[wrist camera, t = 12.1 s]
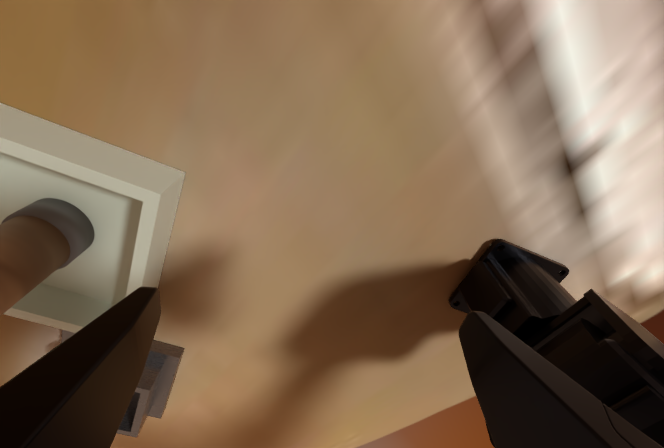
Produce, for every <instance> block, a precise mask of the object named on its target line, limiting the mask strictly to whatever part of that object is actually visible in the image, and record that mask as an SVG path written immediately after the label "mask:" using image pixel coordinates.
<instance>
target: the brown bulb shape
mask: <svg viewBox="0 0 664 448" xmlns="http://www.w3.org/2000/svg"><path fill="white" fill-rule="evenodd" d="M94 236H95V234H94V228H93V225H92V223H91V221H90V220H89V218H88V217H87V216H86V215H85V214H84V213H83V212H82V211H81V210H80V209H79V208H77V207H76V206H74V205H72V204H71V203H68V202H66V201H63V200H60V199H55V198H43V199H39V200H37V201H35V202H33V203H31V204H29V205H28V206H26V207H24V208H22V209H20V210H18V211H16V212H14V213H13V214H11V215H9V216H7V217H6V218H5V219H4V220H3V221H2V223H1V224H0V316H1V315H2V314H3V313H5V312H6V311H7V310H8V309H10V308H11V307H12V306H13V305H14V304H16V303H17V302H18V301H19V300H20V299H22V298H23V297H24V296H25V295H27V294H28V293H29V292H30V291H31V290H33V289H34V288H35V287H36V286H37V285H39V284H40V283H41V282H42V281H43V280H45V279H46V278H47V277H48V276H50V275H51V274H52V273H53V272H54V271H56V270H57V269H61V268H64V267H66V266H67V265H68V264H70V263H71V262H72V261H73V260H74V259H75V258H77V257H78V256H79V255H80V254H81V253H83V252H84V251H85V250H86V249H87V248H89V247H90V246H91V244H92V243H93V241H94Z"/></svg>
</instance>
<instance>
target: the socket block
mask: <svg viewBox="0 0 664 448" xmlns="http://www.w3.org/2000/svg"><path fill="white" fill-rule="evenodd" d="M73 334H75V333H73V332H69V331H66V330H62V341H61V343H62V342H64V341H65V340H67V339H68V338H69V337H71V336H72V335H73ZM183 352H184V348H181V347H177V346H173V345H169V344H166V343H162V342H158V341H155V340H153V341H152V345H151V348H150V351H149V354H148V357H147V361H146V364H145V367H144V370H143V373H142V376H141V378H140V381H139V383H138V385H137V388H136V390H135V392H134V394H133V397H132V399H131V401H130V403H129V406H128V408H127V410H126V412H125V415H124V417H123V419H122V422H121V424H120V426H119V428H118V431H117V433H118V434H123V435H127V436H132V437H137V436H138V434H139V432H140V430H141V428H142V426H143V424H144V422H145V420H146V418H147V416H152V417H156V418H161V417H162V415H163V412H164V410H165V408H166V404H167V401H168V398H169V395H170V392H171V389H172V386H173V383H174V380H175V376H176V373H177V370H178V367H179V364H180V361H181V358H182V355H183Z"/></svg>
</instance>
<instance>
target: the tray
mask: <svg viewBox="0 0 664 448" xmlns="http://www.w3.org/2000/svg"><path fill="white" fill-rule="evenodd" d="M184 177H185V172H183V171H180V170H178V169H175V168H172V167H170V166H167V165H164V164H162V163H159V162H156V161H154V160H151V159H148V158H146V157H143V156H140V155H138V154H135V153H132V152H130V151H127V150H124V149H122V148H119V147H116V146H114V145H111V144H108V143H106V142H103V141H100V140H98V139H95V138H92V137H90V136H87V135H84V134H82V133H79V132H76V131H74V130H71V129H68V128H66V127H63V126H60V125H58V124H55V123H52V122H50V121H47V120H45V119H42V118H39V117H37V116H34V115H31V114H29V113H26V112H23V111H21V110H18V109H15V108H13V107H10V106H7V105H5V104H2V103H0V224H1V223H2V221H3V220H4V219H5V218H6V217H7V216H9V215H11V214H13V213H14V212H16V211H18V210H20V209H22V208H24V207H26V206H28V205H29V204H31V203H33V202H35V201H37V200H39V199H43V198H55V199H60V200H63V201H66V202H68V203H71V204H72V205H74V206H76V207H77V208H79V209H80V210H81V211H82V212H83V213H84V214H85V215H86V216H87V217H88V218H89V220H90V221H91V223H92V225H93V228H94V234H95V236H94V241H93V243H92V244H91V246H90V247H89V248H87V249H86V250H85V251H84V252H83V253H81V254H80V255H79V256H78V257H77V258H75V259H74V260H73V261H72V262H71V263H70V264H68V265H67V266H66V267H64V268H61V269H57V270H56V271H54V272H53V273H52V274H51V275H50V276H48V277H47V278H46V279H45V280H43V281H42V282H41V283H40V284H39V285H37V286H36V287H35V288H34V289H33V290H31V291H30V292H29V293H28V294H27V295H25V296H24V297H23V298H22V299H20V300H19V301H18V302H17V303H16V304H14V305H13V306H12V307H11V308H10V309H8V310H7V311H6V312H5V313H3V314H4V315H8V316H12V317H16V318H20V319H23V320H27V321H31V322H35V323H39V324H43V325H46V326H50V327H54V328H58V329H62V330H66V331H69V332H73V333H76V332H78V331H79V330H80V329H82V328H83V327H85V326H86V325H87V324H89V323H90V322H92V321H93V320H94V319H96V318H97V317H99V316H100V315H101V314H103V313H104V312H105V311H107V310H108V309H110V308H111V307H112V306H114V305H115V304H117V303H118V302H119V301H121V300H122V299H124V298H125V297H126V296H128V295H129V294H131V293H132V292H133V291H135V290H136V289H137V288H139V287H142V286H146V287H156V288H158V286H159V281H160V277H161V273H162V269H163V265H164V260H165V256H166V252H167V248H168V244H169V239H170V235H171V231H172V227H173V223H174V219H175V214H176V210H177V206H178V202H179V198H180V193H181V189H182V185H183V181H184Z"/></svg>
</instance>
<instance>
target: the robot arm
mask: <svg viewBox="0 0 664 448" xmlns="http://www.w3.org/2000/svg"><path fill="white" fill-rule="evenodd" d="M500 245H502V246H501V247H500V248H498V246H500ZM568 273H569V269H568V268H567V267H566V266H564V265H563V264H560V263H558V262H556V261H553V260H551V259H548V258H546V257H544V256H541V255H539V254H536V253H534V252H532V251H529V250H527V249H524V248H522V247H520V246H517V245H515V244H512V243H510V242H508V241H505V240H503V239H497V240H495V241H494V242H493V243H492V244H491V246H490V247H489V248H488V249H487V251H486V252H485V253H484V254H483V256H482V257H481V258H480V260H479V261H478V262H477V263H476V265H475V266H474V267H473V269H472V270H471V271H470V272H469V274H468V275H467V276H466V278H465V279H464V280H463V281H462V283H461V284H460V285H459V287H458V288H457V289H456V290H455V292H454V293H453V294H452V296H451V297H450V298H449V304H450V306H451V307H452V308H454V309H457V310H460V311H463V312H466V313H468V314H467V316H466V318H465V320H464V321H463V323H462V325H461V327H460V329H459V338H460V342H461V346H462V349H463V353H464V357H465V360H466V364H467V368H468V371H469V375H470V378H471V382H472V385H473V388H474V391H475V393H476V396H477V399H478V401H479V404H480V407H481V409H482V412H483V415H484V417H485V420H486V426H487V430H488V433H489V437H490V441H491V443H492V445H493V446H494V447H495V448H664V344H663V343H661V342H660V341H659V340H658V339H657V338H655V337H654V336H653V335H652V334H651V333H650V332H648V331H647V330H646V329H645V328H644V327H643V326H642V325H640V324H639V323H638V322H637V321H635V320H634V319H633V318H631V317H630V316H628V315H627V314H626V313H624V312H623V311H622V310H620V309H619V308H617V307H616V306H615V305H613V304H612V303H611V302H609V301H608V300H606V299H605V298H604V297H602V296H601V295H600V294H598V293H597V292H595V291H594V290H593V289H590V290H589V291H588V292H586V293H585V294H584V297H583V298H581V299H580V300H579V301H576V300H575V299H574V298H573V297H572V296H571V295H570V294H569V293H568V292H567V291H566V290H565V289H564V288H563V287H562V286H561V285H560V284H559V283H560V282H561V281H562V280H563V279H564V278H565V277H566V276H567V275H568ZM455 301H457V302H455ZM454 302H455V303H454ZM160 314H161V306H160V294H159V290H158V288H156V287H146V286H142V287H139V288H137V289H136V290H135V291H133V292H132V293H131V294H129V295H128V296H126V297H125V298H124V299H122V300H121V301H119V302H118V303H117V304H115V305H114V306H112V307H111V308H110V309H108V310H107V311H105V312H104V313H103V314H101V315H100V316H99V317H97V318H96V319H94V320H93V321H92V322H90V323H89V324H87V325H86V326H85V327H83V328H82V329H80V330H79V331H78V332H76V333H75V334H73V335H72V336H71V337H69V338H68V339H67V340H65V341H64V342H62V343H61V344H60V345H58V346H57V347H55V348H54V349H53V350H51V351H50V352H48V353H47V354H46V355H44V356H43V357H42V358H40V359H39V360H37V361H36V362H35V363H33V364H32V365H30V366H29V367H28V368H26V369H25V370H23V371H22V372H21V373H19V374H18V375H16V376H15V377H14V378H12V379H11V380H10V381H8V382H7V383H5V384H4V385H3V386H1V387H0V448H110V446H111V444H112V442H113V440H114V437H115V435H116V433H117V431H118V428H119V426H120V424H121V422H122V419H123V417H124V415H125V412H126V410H127V408H128V406H129V403H130V401H131V399H132V397H133V394H134V392H135V390H136V388H137V385H138V383H139V381H140V378H141V376H142V373H143V370H144V367H145V364H146V361H147V357H148V354H149V351H150V348H151V345H152V341H153V338H154V335H155V332H156V329H157V325H158V322H159V319H160Z"/></svg>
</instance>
